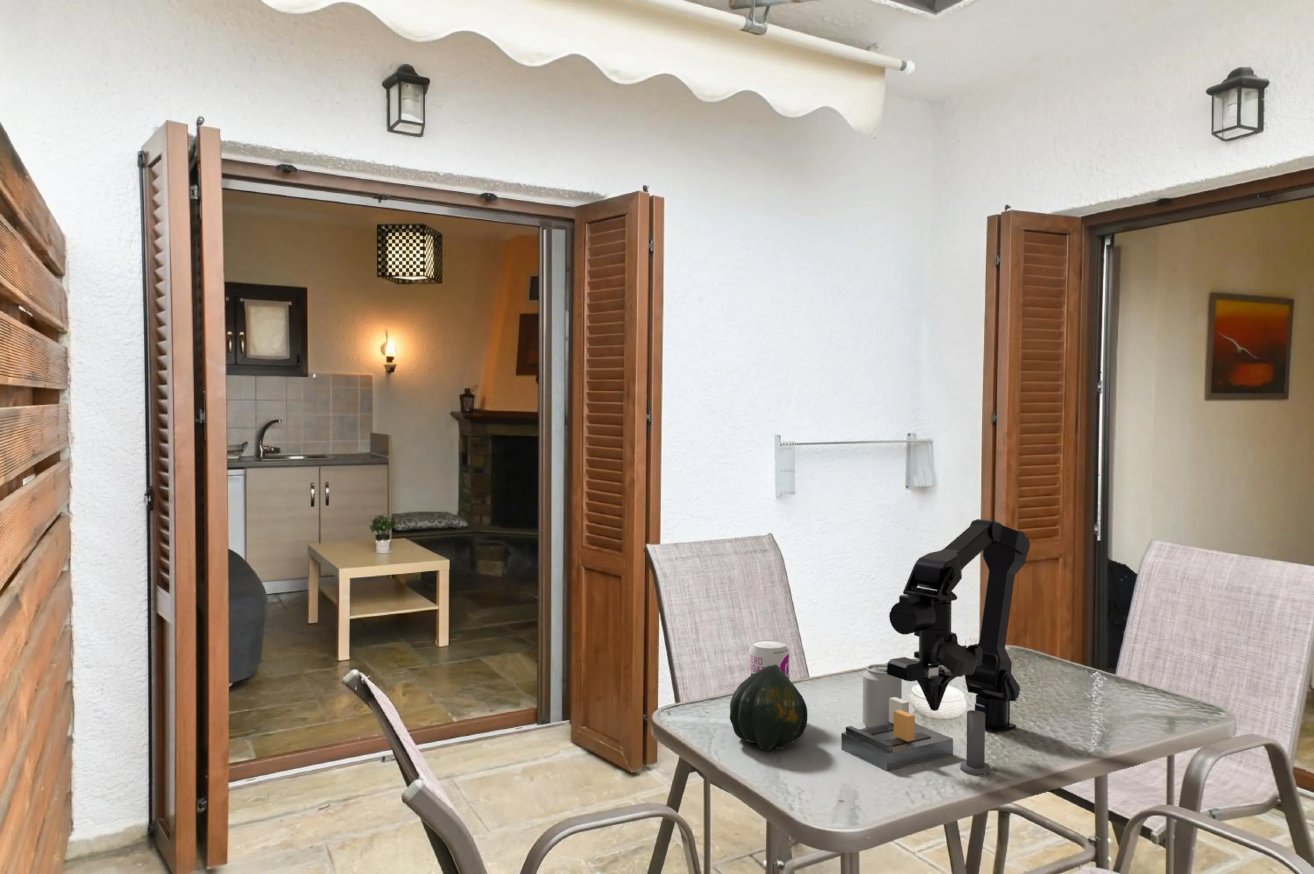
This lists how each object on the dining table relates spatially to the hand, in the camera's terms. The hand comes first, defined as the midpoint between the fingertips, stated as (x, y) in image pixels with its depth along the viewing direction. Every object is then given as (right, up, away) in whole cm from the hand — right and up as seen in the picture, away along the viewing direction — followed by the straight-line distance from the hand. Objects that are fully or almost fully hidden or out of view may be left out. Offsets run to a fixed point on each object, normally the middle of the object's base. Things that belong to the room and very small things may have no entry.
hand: (934, 710), depth 168 cm
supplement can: (-28, -7, +19) cm, 35 cm away
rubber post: (+4, -8, -9) cm, 13 cm away
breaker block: (-7, -7, -1) cm, 10 cm away
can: (-7, -7, +12) cm, 16 cm away
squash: (-30, -8, +4) cm, 32 cm away
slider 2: (-7, -4, -4) cm, 8 cm away
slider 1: (-5, -4, +4) cm, 8 cm away
